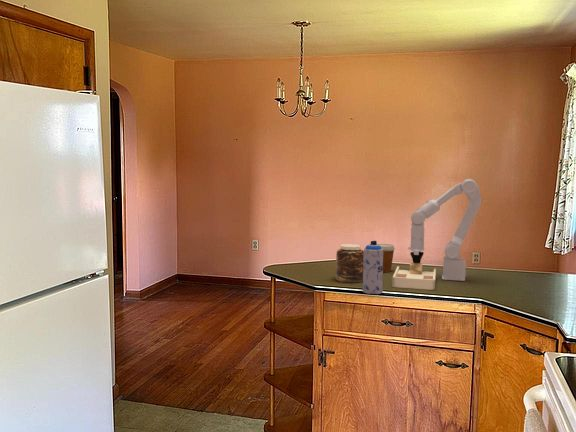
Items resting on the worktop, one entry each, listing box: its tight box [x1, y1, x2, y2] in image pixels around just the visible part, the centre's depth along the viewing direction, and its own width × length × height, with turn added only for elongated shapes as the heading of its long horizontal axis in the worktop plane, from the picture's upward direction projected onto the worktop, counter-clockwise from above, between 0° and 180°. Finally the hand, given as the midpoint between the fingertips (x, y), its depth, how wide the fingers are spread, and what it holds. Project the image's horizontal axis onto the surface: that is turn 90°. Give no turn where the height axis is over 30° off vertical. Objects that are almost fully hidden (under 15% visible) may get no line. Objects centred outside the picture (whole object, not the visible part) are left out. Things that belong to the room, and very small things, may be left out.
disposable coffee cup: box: [378, 243, 396, 273], centre depth 247 cm, size 10×10×12 cm
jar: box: [335, 243, 364, 284], centre depth 228 cm, size 12×12×15 cm
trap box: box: [391, 265, 437, 291], centre depth 225 cm, size 17×24×4 cm
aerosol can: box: [361, 240, 384, 295], centre depth 207 cm, size 8×8×20 cm
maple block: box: [409, 262, 423, 275], centre depth 231 cm, size 5×5×4 cm
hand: (416, 268), depth 236 cm, fingers closed
